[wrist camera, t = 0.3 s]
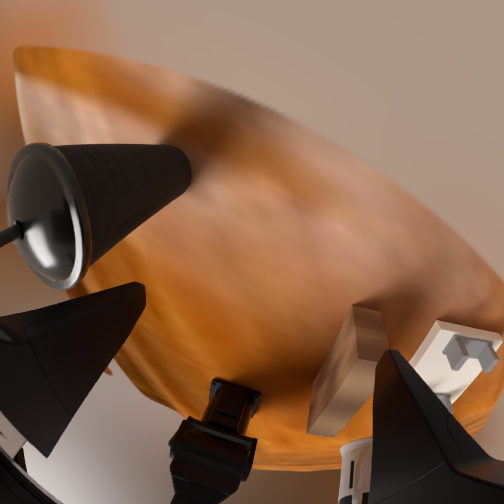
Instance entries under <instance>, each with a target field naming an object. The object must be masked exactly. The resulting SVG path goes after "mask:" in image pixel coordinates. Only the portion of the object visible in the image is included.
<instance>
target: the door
mask: <svg viewBox="0 0 504 504" xmlns="http://www.w3.org/2000/svg"><path fill="white" fill-rule="evenodd" d="M386 349H390V346H389V342H388V338H387V334H386V330H385V326H384V322H383V318H382V314H381V312H380V311H376V310H372V309H368V308H363V307H359V306H355V305H352V306H351V308H350V310H349V313H348V315H347V317H346V319H345V321H344V324H343V326H342V328H341V330H340V332H339V334H338V336H337V338H336V340H335V342H334V344H333V346H332V348H331V350H330V352H329V354H328V356H327V358H326V360H325V362H324V364H323V366H322V368H321V369H320V371H319V373H318V375H317V377H316V379H315V380H314V382H313V384H312V391H311V401H310V409H309V417H308V425H307V432H306V433H307V434H313V435H320V436H327V437H335V436H336V434H337V433H338V432H339V431H340V430H341V429H342V428H343V427H344V426H345V425H346V424H347V423H348V422H349V420H350V419H351V418H352V417H353V416H354V415H355V414H356V412H357V411H358V410H359V409H360V408H361V407H362V405H363V404H364V403H365V402H366V401H367V399H368V398H369V397H370V396H371V394H372V393H373V392H374V382H375V369H376V365H377V363H378V362H379V360H380V358H381V357H382V355H383V354H384V352H385V350H386Z"/></svg>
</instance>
